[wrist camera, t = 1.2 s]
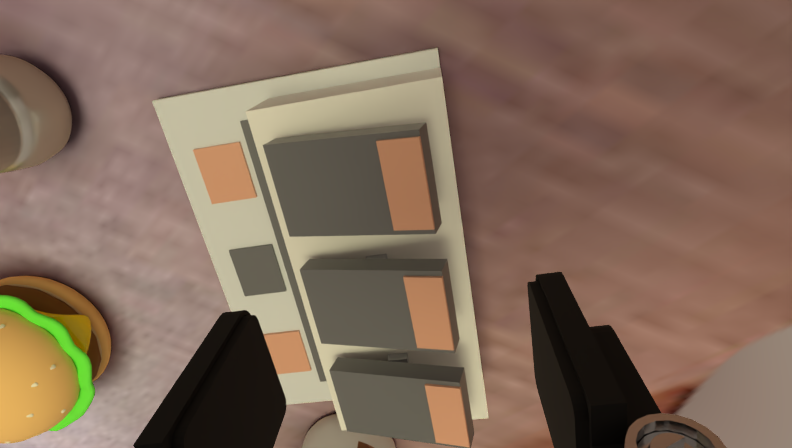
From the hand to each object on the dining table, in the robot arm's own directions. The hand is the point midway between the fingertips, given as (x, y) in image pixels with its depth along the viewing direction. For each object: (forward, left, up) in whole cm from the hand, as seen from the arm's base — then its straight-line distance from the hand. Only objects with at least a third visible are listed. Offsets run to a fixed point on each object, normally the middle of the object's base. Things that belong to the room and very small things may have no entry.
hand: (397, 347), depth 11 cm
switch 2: (+3, +14, -13) cm, 19 cm away
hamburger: (+30, +10, -20) cm, 37 cm away
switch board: (+6, +7, -20) cm, 22 cm away
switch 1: (+3, 0, -13) cm, 13 cm away
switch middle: (+3, +7, -13) cm, 15 cm away
